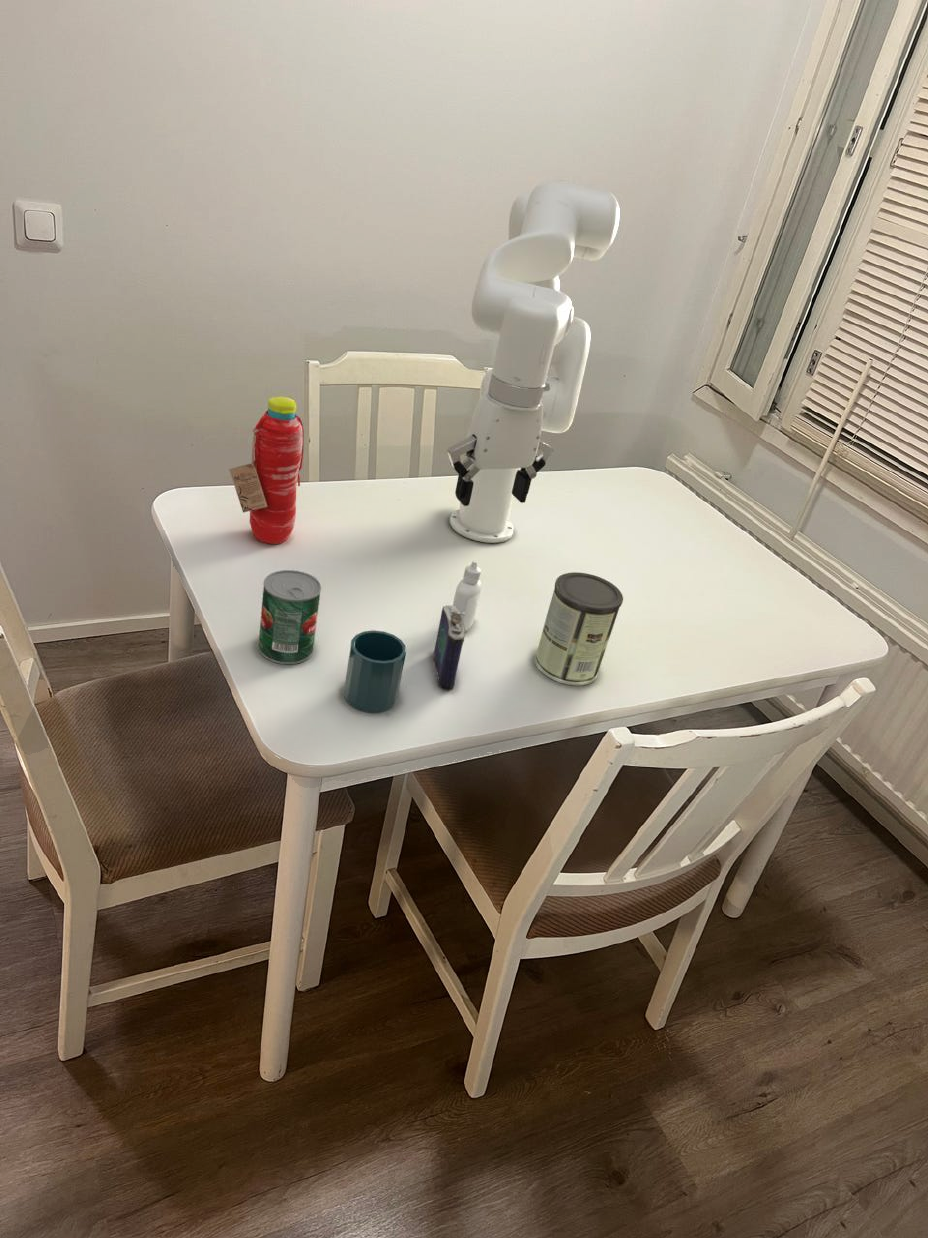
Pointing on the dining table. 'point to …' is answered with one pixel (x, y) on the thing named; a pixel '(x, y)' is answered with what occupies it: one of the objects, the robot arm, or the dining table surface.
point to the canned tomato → (289, 616)
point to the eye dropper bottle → (468, 594)
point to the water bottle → (272, 472)
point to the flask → (448, 646)
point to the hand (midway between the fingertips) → (490, 499)
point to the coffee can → (577, 628)
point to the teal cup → (374, 671)
